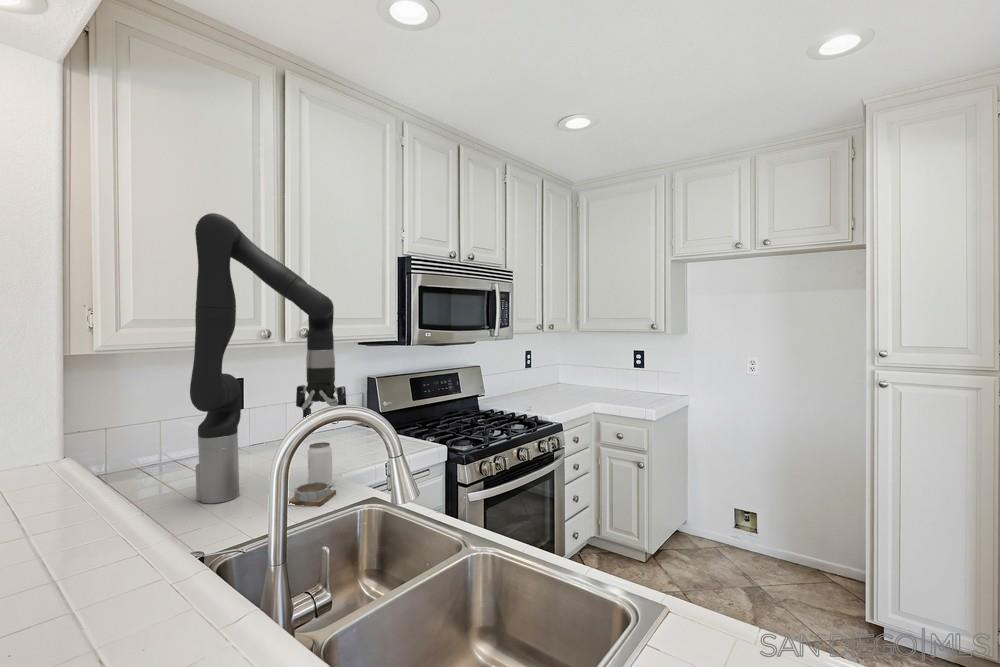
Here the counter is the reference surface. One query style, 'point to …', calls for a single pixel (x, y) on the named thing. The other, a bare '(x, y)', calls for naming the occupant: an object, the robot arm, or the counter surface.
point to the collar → (313, 495)
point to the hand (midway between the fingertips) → (321, 422)
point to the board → (313, 503)
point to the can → (320, 463)
